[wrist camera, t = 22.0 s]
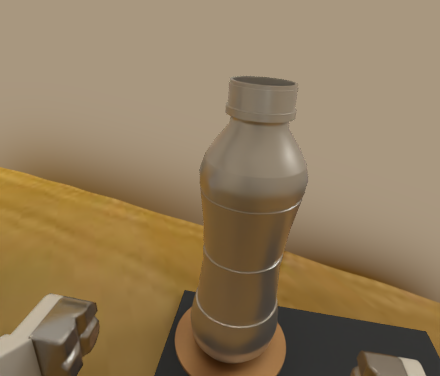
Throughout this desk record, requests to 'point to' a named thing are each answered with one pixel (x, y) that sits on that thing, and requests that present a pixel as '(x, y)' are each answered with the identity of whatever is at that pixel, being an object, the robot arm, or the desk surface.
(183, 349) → the copper coaster
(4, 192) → the desk surface
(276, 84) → the plastic bottle
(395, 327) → the desk mat
